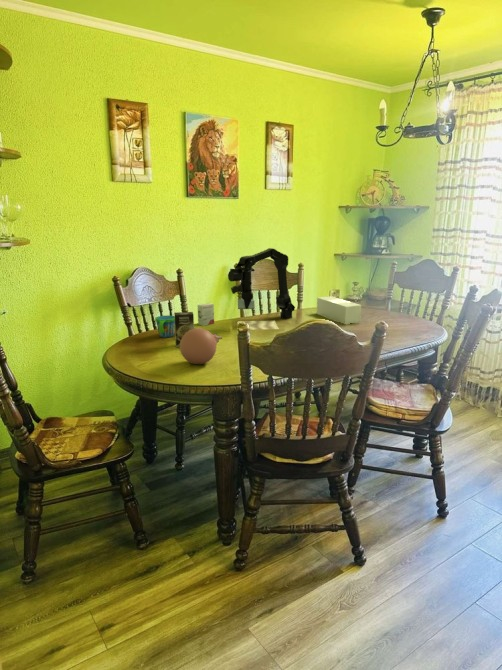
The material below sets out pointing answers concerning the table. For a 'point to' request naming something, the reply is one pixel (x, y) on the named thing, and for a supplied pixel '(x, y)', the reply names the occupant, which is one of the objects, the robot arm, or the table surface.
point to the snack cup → (165, 325)
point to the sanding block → (242, 305)
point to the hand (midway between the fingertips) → (246, 308)
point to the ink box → (205, 314)
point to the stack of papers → (339, 310)
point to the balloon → (198, 345)
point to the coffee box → (182, 325)
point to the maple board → (260, 325)
